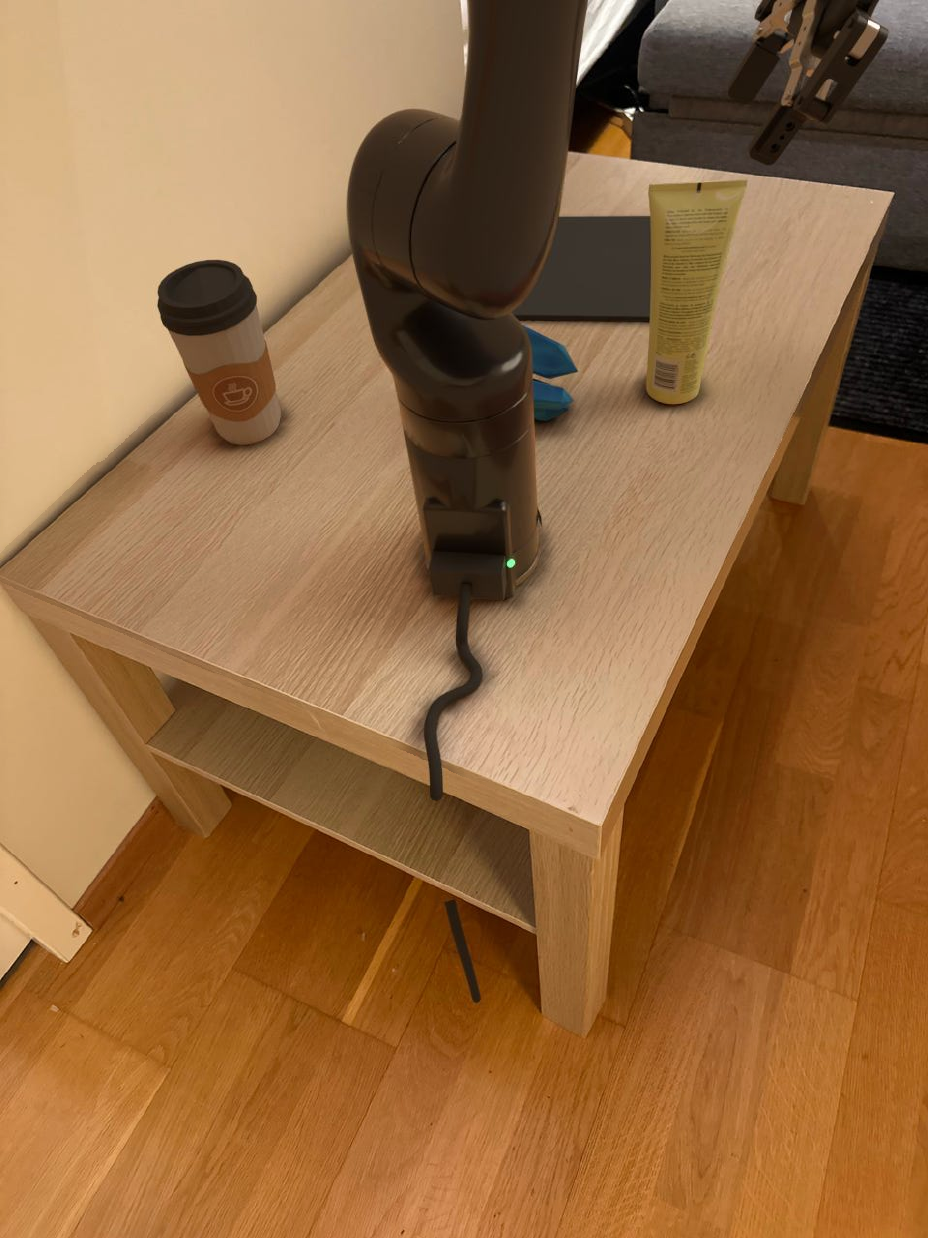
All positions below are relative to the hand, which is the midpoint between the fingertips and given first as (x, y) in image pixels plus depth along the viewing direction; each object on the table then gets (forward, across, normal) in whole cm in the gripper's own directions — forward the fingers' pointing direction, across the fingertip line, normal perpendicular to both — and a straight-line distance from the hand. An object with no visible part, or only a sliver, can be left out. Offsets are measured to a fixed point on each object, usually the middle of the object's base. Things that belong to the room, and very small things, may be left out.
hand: (747, 127), depth 66 cm
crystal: (+28, +3, -5) cm, 29 cm away
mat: (+28, -21, 0) cm, 35 cm away
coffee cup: (+41, +2, -28) cm, 50 cm away
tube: (+22, +2, +8) cm, 23 cm away
